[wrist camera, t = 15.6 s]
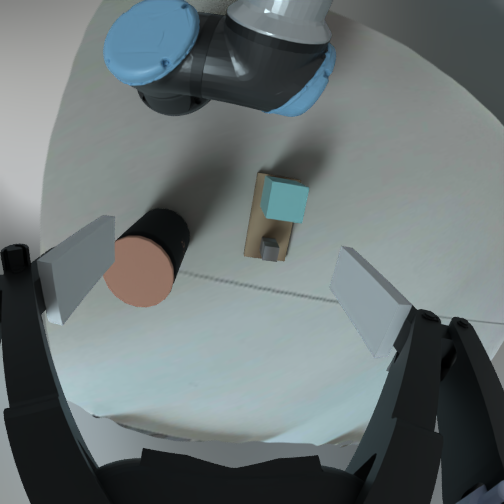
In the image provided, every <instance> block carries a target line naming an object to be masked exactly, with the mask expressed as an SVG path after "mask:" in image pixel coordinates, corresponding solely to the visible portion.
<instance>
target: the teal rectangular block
mask: <svg viewBox="0 0 504 504" xmlns="http://www.w3.org/2000/svg"><path fill="white" fill-rule="evenodd" d="M308 192H309V187H307V186H305V185H303V184H301V183H299V182H297V181H294V180H289V179H283V178H277V177H271V176H265V180H264V186H263V192H262V197H261V203H260V207H261V209H262V211H263V213H264V215H265V217H266V218H268V219H275V220H282V221H289V222H295V223H302V221H303V216H304V211H305V206H306V201H307V197H308Z"/></svg>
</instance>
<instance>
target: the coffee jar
mask: <svg viewBox="0 0 504 504" xmlns="http://www.w3.org/2000/svg"><path fill="white" fill-rule="evenodd" d="M188 244H189V230H188V227H187V224H186V223H185V221H184V220H183V219H182V217H181V216H179V215H178V214H177V213H175V212H174V211H171V210H168V209H155V210H152V211H149V212H148V213H146V214H145V215H144V216H143V217H141V218H140V219H139V220H138V221H137V222H136V223H135V224H133V225H132V226H131V227H130V228H129V229H128V230H127V231H126V232H124V233H123V234H122V235H121V236H120V237H119V238H118V239H117V240H116V241H115V262H114V263H113V264H112V265H111V266H110V268H109V269H108V270H107V271H106V272H105V273H104V275H103V276H104V279H105V281H106V284H107V286H108V288H109V289H110V290H111V291H112V292H113V294H114V295H115V296H116V297H117V298H119V299H120V300H122V301H123V302H125V303H127V304H130V305H133V306H135V307H150V306H154V305H157V304H158V303H160V302H161V301H163V300H164V299H165V298H166V297H167V296H168V294H169V293H170V292H171V289H172V285H173V283H174V281H175V279H176V276H177V273H178V271H179V268H180V265H181V263H182V260H183V258H184V255H185V252H186V250H187V247H188Z"/></svg>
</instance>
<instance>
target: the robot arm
mask: <svg viewBox="0 0 504 504" xmlns="http://www.w3.org/2000/svg"><path fill="white" fill-rule="evenodd" d="M332 2H333V0H238V1H236V2H234V3H232V4H231V5H230V6H229V7H228V9H227V14H226V16H225V15H218V14H211V13H203V12H197V11H196V9H195V8H194V7H193V6H192V5H190V4H189V3H188V2H186V1H185V0H144V1H141V2H139V3H137V4H136V5H134V6H132V7H131V9H130V10H129V11H127V12H126V13H123V14H122V15H121V16H120V17H119V18H118V19H117V20H116V21H115V23H114V24H113V25H112V27H111V28H110V30H109V32H108V34H107V37H106V39H105V43H104V49H103V54H104V60H105V63H106V66H107V67H108V69H109V70H110V72H111V73H112V74H113V75H114V76H115V77H116V78H117V79H119V80H120V81H121V82H123V83H124V84H128V85H130V86H132V87H134V88H136V89H137V91H138V94H139V96H140V98H141V99H142V101H143V102H144V103H145V104H146V105H147V106H148V107H149V108H151V109H152V110H154V111H156V112H158V113H160V114H164V115H168V116H181V115H186V114H189V113H192V112H194V111H197V110H198V109H200V108H202V107H203V106H204V105H206V104H207V103H208V102H209V101H210V100H217V101H222V102H226V103H231V104H236V105H240V106H245V107H249V108H253V109H257V110H261V111H262V112H264V113H269V114H270V113H275V114H280V115H284V116H288V117H294V116H299V115H301V114H303V113H305V112H306V111H307V110H308V109H310V108H311V107H312V106H313V104H314V103H315V102H316V101H317V100H318V98H319V97H320V95H321V94H322V92H323V91H324V89H325V87H326V85H327V83H328V81H329V80H328V77H329V75H330V74H331V73H332V71H333V68H334V66H335V61H336V51H335V48H334V46H332V45H331V44H330V43H329V41H330V39H331V37H332V34H331V31H330V29H329V27H328V25H327V24H326V22H325V16H326V14H327V12H328V10H329V8H330V6H331V4H332ZM0 253H1V260H2V265H3V270H4V275H0V343H1V339H2V350H3V363H4V373H5V381H6V388H7V395H8V400H9V407H10V408H6V409H4V421H5V426H6V430H7V434H8V439H9V442H10V446H11V450H12V453H13V457H14V460H15V463H16V466H17V469H18V472H19V475H20V478H21V481H22V483H23V486H24V489H25V491H26V494H27V496H28V498H29V501H30V503H31V504H430V502H431V498H432V495H433V491H434V487H435V483H436V479H437V474H438V469H439V465H440V459H441V468H442V497H443V498H442V499H443V504H504V390H503V388H502V385H501V383H500V381H499V378H498V376H497V374H496V372H495V370H494V367H493V365H492V363H491V361H490V359H489V357H488V355H487V353H486V351H485V349H484V347H483V345H482V343H481V341H480V339H479V337H478V335H477V334H476V332H475V330H474V328H473V326H472V325H471V324H470V323H469V322H468V321H467V320H466V319H464V318H459V317H453V318H452V320H451V322H450V324H449V326H447V325H443V324H441V320H440V319H439V317H438V316H437V315H435V314H434V313H433V312H431V311H427V310H423V309H419V310H417V309H416V308H415V307H414V306H413V305H412V304H411V303H410V302H409V301H408V300H407V299H406V298H405V297H404V296H403V295H402V294H401V293H400V292H399V291H398V290H397V289H396V288H395V287H394V286H393V285H392V284H391V283H390V282H389V281H388V280H387V279H386V278H384V277H383V276H382V275H381V274H380V273H379V272H378V271H377V270H376V269H375V268H374V267H373V266H372V265H371V264H370V263H369V262H367V261H366V260H365V259H364V258H363V257H362V256H361V255H360V254H359V253H358V252H357V251H355V250H354V249H353V248H350V247H344V246H341V249H340V253H339V256H338V260H337V263H336V267H335V270H334V274H333V277H332V280H331V284H330V287H329V288H330V289H331V291H332V292H333V294H334V295H335V297H336V298H337V300H338V301H339V303H340V305H341V306H342V308H343V309H344V311H345V312H346V314H347V315H348V317H349V318H350V320H351V322H352V323H353V325H354V326H355V328H356V329H357V331H358V333H359V334H360V336H361V337H362V339H363V341H364V342H365V344H366V346H367V347H368V349H369V350H370V352H371V354H372V355H373V357H374V358H379V357H388V355H389V353H390V351H391V349H392V347H393V346H394V348H395V349H396V350H397V352H396V354H395V356H394V358H393V360H392V361H391V363H390V365H389V367H388V368H387V370H386V371H389V373H388V376H387V379H386V381H385V384H384V387H383V390H382V392H381V395H380V398H379V400H378V403H377V405H376V408H375V410H374V413H373V415H372V417H371V420H370V422H369V424H368V426H367V429H366V431H365V433H364V435H363V437H362V440H361V442H360V444H359V446H358V448H357V450H356V452H355V454H354V456H353V458H352V460H351V462H350V463H349V465H348V467H347V468H346V470H345V471H343V470H340V469H336V468H332V467H327V466H321V464H320V460H319V457H318V455H316V456H306V457H295V458H278V459H274V460H270V461H266V462H262V463H258V464H254V465H249V466H244V467H239V468H229V467H225V466H221V465H218V464H214V463H210V462H207V461H204V460H201V459H197V458H194V457H191V456H188V455H182V454H175V453H168V452H162V451H156V450H151V449H145V448H143V451H142V456H141V458H134V459H124V460H119V461H115V462H112V463H109V464H106V465H104V466H101V467H98V465H97V464H96V462H95V461H94V459H93V457H92V455H91V453H90V451H89V450H88V448H87V446H86V444H85V442H84V440H83V438H82V436H81V433H80V431H79V429H78V427H77V425H76V423H75V420H74V418H73V416H72V413H71V411H70V408H69V406H68V403H67V401H66V398H65V396H64V393H63V390H62V387H61V384H60V382H59V379H58V376H57V373H56V369H55V366H54V363H53V360H52V356H51V353H50V349H49V345H48V341H47V338H46V333H45V329H44V325H43V320H42V317H41V314H42V313H43V312H44V311H45V310H46V313H47V317H48V321H49V322H52V323H55V324H59V325H62V326H63V325H64V323H65V322H66V321H67V319H68V318H69V317H70V315H71V314H72V313H73V311H74V310H75V309H76V308H77V306H78V305H79V304H80V302H81V301H82V300H83V299H84V297H85V296H86V295H87V294H88V293H89V291H90V290H91V289H92V288H93V286H94V285H95V284H96V283H97V282H98V280H99V279H100V278H101V277H102V276H103V275H104V273H105V272H106V271H107V270H108V269H109V268H110V266H111V265H112V264H113V263H114V262H115V216H107V215H102V216H101V217H99V218H98V219H96V220H95V221H93V222H91V223H90V224H88V225H87V226H85V227H84V228H82V229H81V230H79V231H78V232H76V233H75V234H73V235H72V236H70V237H69V238H67V239H66V240H64V241H63V242H62V243H60V244H59V245H57V246H56V247H53V248H51V249H49V250H48V251H47V252H45V253H44V254H42V255H41V257H38V258H37V259H36V260H35V261H33V262H32V263H31V261H30V254H29V247H28V246H27V245H25V244H13V245H9V246H7V247H5V248H4V249H2V250H1V252H0ZM436 416H437V421H438V429H439V433H437V432H434V429H435V423H436Z"/></svg>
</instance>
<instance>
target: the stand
mask: <svg viewBox="0 0 504 504" xmlns="http://www.w3.org/2000/svg"><path fill="white" fill-rule="evenodd" d="M265 176H271V177H277V178H283V179H289V180H294V181H297V182H299V183H301V180H298V179H293V178H287V177H282V176H276V175H270V174H264V173H257V179H256V184H255V190H254V196H253V202H252V208H251V214H250V220H249V226H248V231H247V237H246V243H245V249H244V256H246V257H254V258H262V260H266V261H274V262H277V260H278V261H285V256H286V252H287V247H288V243H289V238H290V234H291V229H292V224H293V222H289V221H282V220H275V219H268V218H266V217H265V215H264V213H263V211H262V209H261V207H260V203H261V197H262V192H263V186H264V180H265Z"/></svg>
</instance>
